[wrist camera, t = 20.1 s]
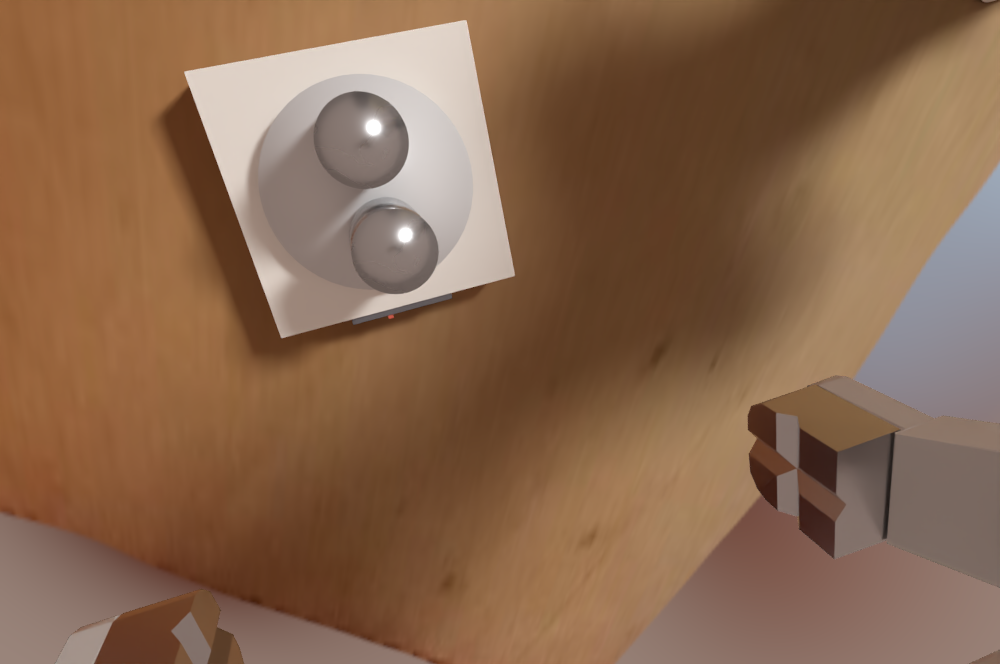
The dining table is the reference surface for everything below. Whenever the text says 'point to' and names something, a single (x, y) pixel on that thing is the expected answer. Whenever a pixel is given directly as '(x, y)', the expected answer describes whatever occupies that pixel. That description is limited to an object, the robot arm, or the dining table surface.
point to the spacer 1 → (361, 140)
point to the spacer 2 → (392, 246)
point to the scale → (331, 205)
